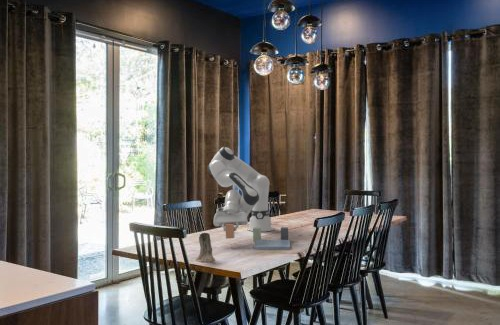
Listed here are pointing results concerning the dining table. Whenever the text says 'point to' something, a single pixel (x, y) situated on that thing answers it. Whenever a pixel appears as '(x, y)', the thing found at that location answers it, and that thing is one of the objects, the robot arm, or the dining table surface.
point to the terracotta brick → (230, 231)
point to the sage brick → (256, 233)
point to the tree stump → (205, 248)
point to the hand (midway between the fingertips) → (229, 230)
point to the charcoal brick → (284, 233)
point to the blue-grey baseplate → (272, 244)
